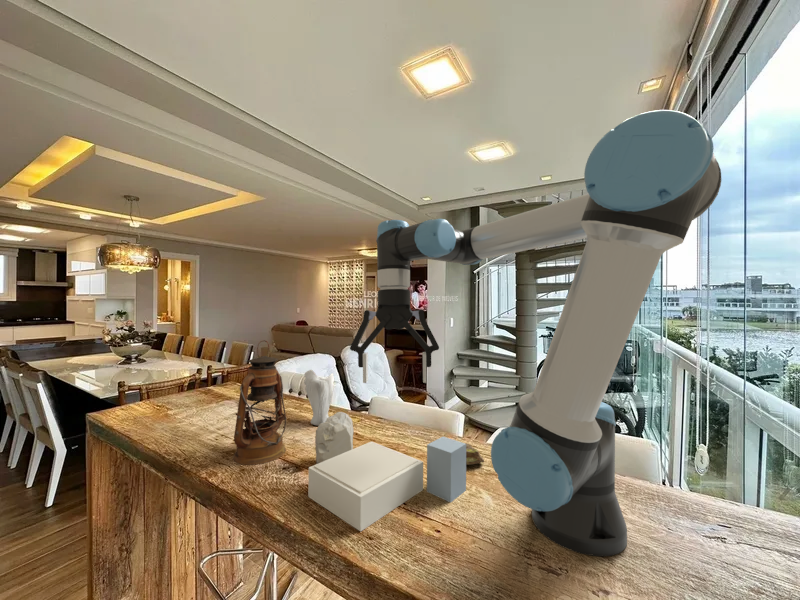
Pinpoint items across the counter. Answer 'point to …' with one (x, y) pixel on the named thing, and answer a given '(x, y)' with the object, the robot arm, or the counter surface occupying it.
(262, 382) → the lantern
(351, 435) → the stone
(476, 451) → the rock
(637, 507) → the counter surface
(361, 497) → the plinth
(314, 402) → the white figurine
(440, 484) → the block
